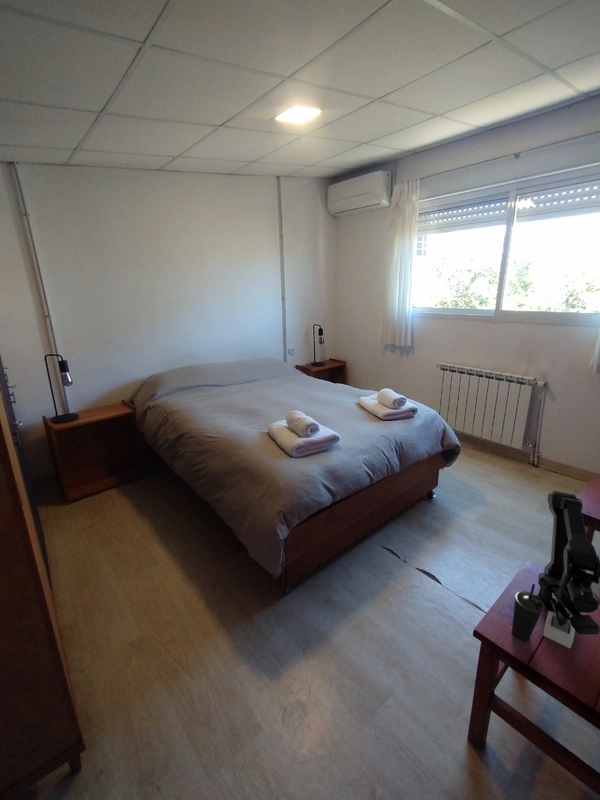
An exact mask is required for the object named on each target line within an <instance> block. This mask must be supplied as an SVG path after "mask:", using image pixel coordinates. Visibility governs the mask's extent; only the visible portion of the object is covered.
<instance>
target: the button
mask: <svg viewBox="0 0 600 800" xmlns="http://www.w3.org/2000/svg"><path fill="white" fill-rule="evenodd" d="M551 626H553V627H555V628H557V629H560V630H562V631H564V632H566V633H568V629H569V623H566V624H564V625H559V623H558V621H557V618H556V617H554V618H553V621H552V625H551Z"/></svg>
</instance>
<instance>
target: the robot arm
mask: <svg viewBox="0 0 600 800" xmlns="http://www.w3.org/2000/svg"><path fill="white" fill-rule="evenodd" d="M547 503H548V510H549V511H550V513H551V515H552V516H553V521H552V522H553V524H552V525H553V526H552V536H551V537H552V539H551V540H552V541H551V551H550V554H551V555H550V561H549V562H548V563H547V564H546V565H545V566H544V569H543V570H544V571H543V572H541V573H538V578H537V580H538V582H537V583H538V586H539V591H538V594H535V595H536V596H537V597H539V598H540V599H541V600H542V602H543V604H544V608H546V609H547V610H548V612H549V611H551V612H553V613H555V615H556V618H557V621H558V623H559V625H564V624H566V623H567V622H568V621H569V620H570V623H571V626H572V627H573V628H574V629H575V632H576V633H577V634H579V635H583V636H584V635H586V636H587V635H599V634H600V625H599V624H598V622H597V621H595V619H594V618H593V617H592V616H591V615H590V613H594V612H596V611H597V610H598V609H599V606H600V597H599V596H598V595H597V594H596V593H595V592H594V590H593V588H592V583H593V584H596V585H598V584H600V558H599V556H598V555H597V550H596V549H595V546H594V545H593V544H592V543H591V542H590V541H589V540H588V537H587V531H586V525H585V522H584V516H583V511H582V510H583V500H582V499H580V498H578V497H576V495H575V494H573V493H569V492H563V491H557V490H552V492H551V493H550V492H549V493H548V495H547ZM588 572H589V573H588ZM590 572H593V573H590ZM584 613H585V614H584ZM588 613H589V614H588Z"/></svg>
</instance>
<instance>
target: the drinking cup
mask: <svg viewBox="0 0 600 800" xmlns="http://www.w3.org/2000/svg"><path fill="white" fill-rule="evenodd" d="M535 588H536V584H535V583H532V584H531V588H530V592H529V591H526V590H519V591H517V592H515V595H514V607H513V616H512V625H511V626H512V627H511V633H512V636H513V637H514V638H515V639H517V640H518V641H520V642H524V643H526V642H528V641H529V640H530V638H531V637H532V634H533V632H534V629H535V628H536V626H537V623H538V621H539V618H540V616H541V614H542V613H543V611H544V610H545V606H544V604H543V602H542V600H541V599H540V598H539V597H537V596H536V595H537V594H534V591H535Z"/></svg>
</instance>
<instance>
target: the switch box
mask: <svg viewBox="0 0 600 800" xmlns="http://www.w3.org/2000/svg"><path fill="white" fill-rule="evenodd" d="M554 617H556V615H555V612H554V611H552V612H551V611H549V610H548V613H547V617H546V620H545V625H544V630H543V634H542V636H544V637H545V638H548V639H550V640H551V641H553V642H556V643H557V644H560V645H562V646H564V647H566V648H568V649H572V645H573V643H574V640H575V639H574V638H575V632H576V631H575V629H574V628H573V627H572V626H571V623H570V620H569V621H568V622H567V623H569V629H568V633H566V632H564V631H562V630H560V629H557V628H555V627H553V626H551V625H552V621H553V618H554Z"/></svg>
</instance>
